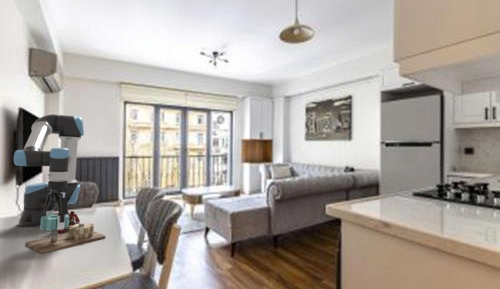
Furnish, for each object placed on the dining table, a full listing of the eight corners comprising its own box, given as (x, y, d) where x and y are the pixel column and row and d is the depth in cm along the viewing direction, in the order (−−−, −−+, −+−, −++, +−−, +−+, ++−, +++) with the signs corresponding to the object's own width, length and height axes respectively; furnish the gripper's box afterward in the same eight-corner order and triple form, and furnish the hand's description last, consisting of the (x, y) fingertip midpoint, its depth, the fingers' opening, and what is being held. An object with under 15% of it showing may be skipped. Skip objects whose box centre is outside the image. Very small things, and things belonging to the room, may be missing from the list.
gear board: (25, 244, 125) (26, 229, 125) (88, 231, 149) (89, 218, 149) (41, 253, 116) (42, 237, 116) (105, 238, 140) (106, 224, 140)
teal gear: (62, 222, 135) (63, 212, 135) (73, 227, 129) (73, 216, 129) (35, 227, 126) (36, 216, 126) (46, 232, 120) (46, 220, 120)
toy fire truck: (80, 230, 150) (81, 211, 150) (53, 234, 141) (54, 214, 141) (77, 227, 155) (78, 209, 155) (51, 231, 146) (52, 211, 146)
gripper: (38, 178, 131) (34, 223, 131) (60, 183, 119) (57, 233, 118) (55, 177, 138) (52, 220, 137) (78, 182, 125) (75, 230, 124)
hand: (54, 226), depth 128 cm, fingers closed on teal gear, 11 cm apart
